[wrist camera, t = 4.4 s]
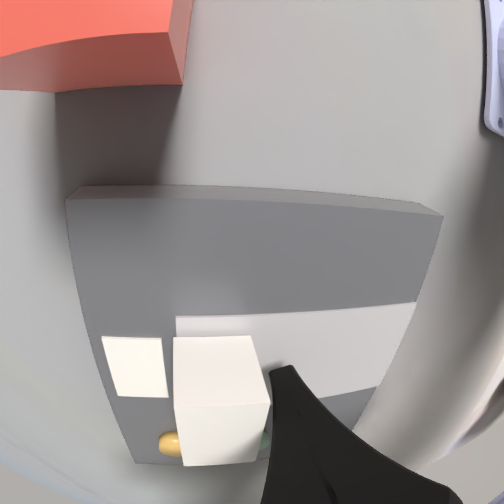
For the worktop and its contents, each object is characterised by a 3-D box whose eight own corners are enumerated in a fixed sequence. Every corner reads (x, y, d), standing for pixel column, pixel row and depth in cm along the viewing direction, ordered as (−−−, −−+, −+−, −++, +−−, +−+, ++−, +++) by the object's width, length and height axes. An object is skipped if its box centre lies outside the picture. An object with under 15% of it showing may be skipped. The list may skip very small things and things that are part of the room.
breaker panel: (419, 203, 11) (454, 222, 9) (335, 424, 17) (347, 450, 15) (81, 186, 8) (56, 206, 6) (136, 441, 14) (135, 472, 12)
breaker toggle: (250, 335, 9) (270, 401, 7) (241, 403, 11) (255, 461, 9) (173, 337, 9) (173, 407, 7) (179, 405, 10) (183, 466, 8)
